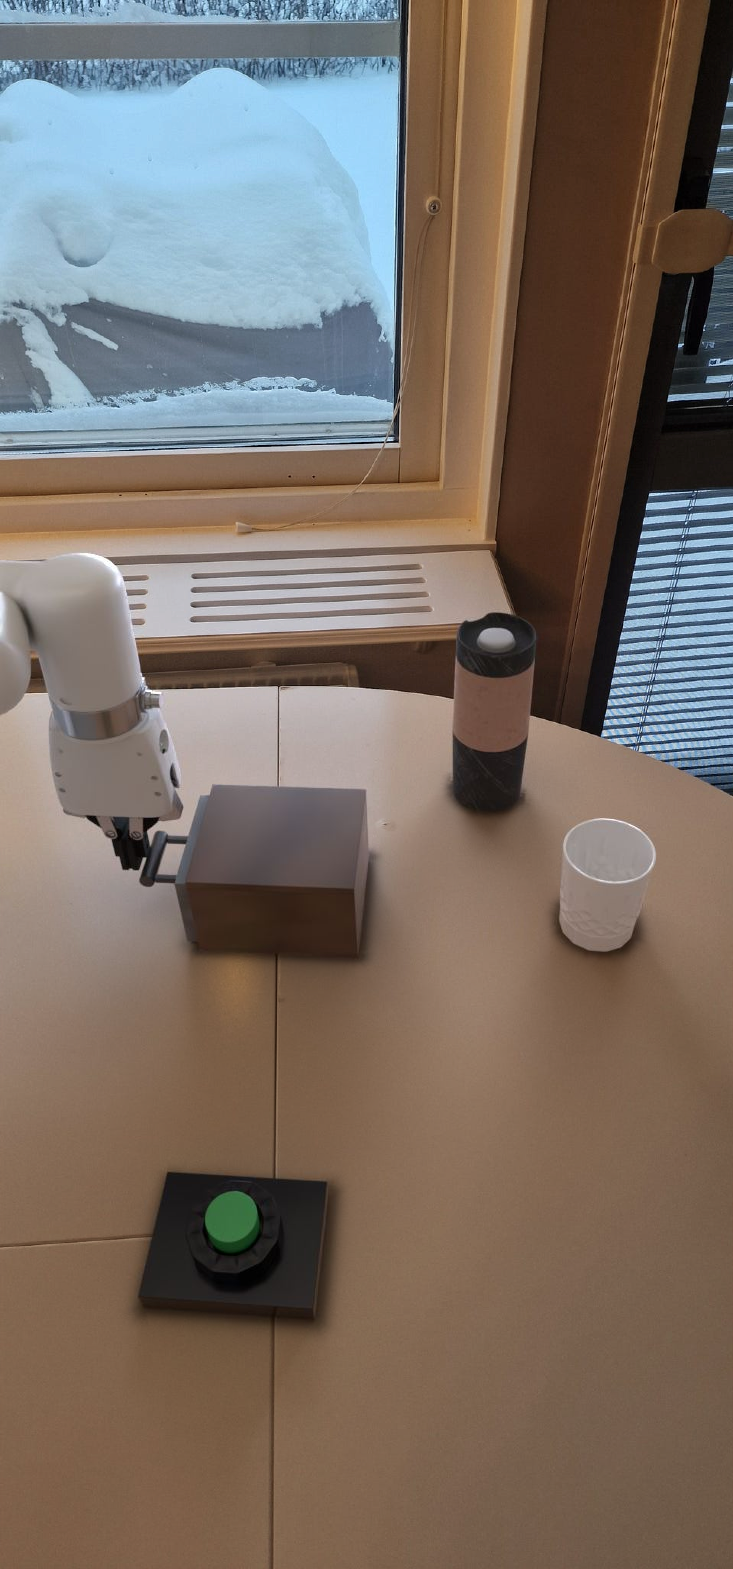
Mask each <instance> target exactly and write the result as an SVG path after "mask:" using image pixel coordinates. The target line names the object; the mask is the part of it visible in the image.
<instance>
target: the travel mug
mask: <svg viewBox="0 0 733 1569" xmlns="http://www.w3.org/2000/svg"><path fill="white" fill-rule="evenodd" d="M455 641H456V642H455V643H456V644H455V661H454V662H455V664H454V665H455V666H454V685H453V706H452V707H453V708H452V732H451V734H452V735H451V736H452V737H451V738H452V791H453V794H454V797H455V798H456V800H457V802H459V803H460V804H461V805H463V806H465V807H466V808H468V809H471V810H473V811H477V812H483V813H493V812H501V811H503V810H505V809H508V808H510V807H511V806H513V805H514V804H515V803H516V802H517V801H518V799H519V797H520V794H521V789H522V782H523V775H524V769H525V768H524V767H525V761H526V753H527V746H528V738H529V731H530V721H531V706H532V696H533V684H534V673H535V672H534V671H535V660H536V659H535V658H536V650H537V649H536V648H537V633H536V630H535V628H534V626H533V625H532V624H531V623H530V622H529V621H527V619H524V618H522V617H520V616H518V615H515V614H511V613H507V612H495V611H494V612H488V613H485V615H484V616H483V617H481V618H479V619H475V620H471V621H470V620H467V619H465V620H463V621H462V622H461V624H460V625H459V627H458V629H457V631H456V640H455Z"/></svg>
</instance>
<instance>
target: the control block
mask: <svg viewBox="0 0 733 1569" xmlns="http://www.w3.org/2000/svg"><path fill="white" fill-rule="evenodd" d="M232 1191H236V1192H241V1193H244V1194H246V1195H248V1196H249V1197H250V1198H251V1199H252V1200H253V1201H254V1203H255V1205H256V1208H257V1212H258V1217H259V1222H260V1229H259V1233H258V1236H257V1238H256V1239H255V1241H254V1242H253V1243H252V1245H251V1246H249V1247H248V1248H247V1249H245V1250H243V1251H241V1252H238V1253H225V1252H222V1251H220V1250H218V1249H217V1248H215V1247H214V1245H213V1244H212V1243H211V1241H210V1239H209V1235H208V1232H207V1228H206V1225H205V1215H206V1211H207V1209H208V1207H209V1205H210V1204H211V1202H212V1201H213V1200H214V1199H215V1198H217V1197H218V1196H220V1195H222V1194H224V1193H227V1192H232ZM329 1193H330V1192H329V1185H328V1181H324V1180H308V1179H293V1178H291V1179H290V1178H276V1177H275V1178H273V1177H259V1176H258V1177H257V1176H242V1175H227V1174H214V1173H213V1174H212V1173H211V1174H209V1173H197V1172H196V1173H194V1172H180V1171H179V1172H178V1171H166V1176H165V1179H164V1185H163V1188H162V1193H161V1197H160V1201H159V1206H158V1210H157V1215H156V1218H155V1223H154V1226H153V1232H152V1235H151V1239H150V1244H149V1248H148V1252H147V1257H146V1261H145V1266H144V1270H143V1273H142V1278H141V1283H140V1286H139V1291H138V1299H139V1302H140V1304H141V1307H142V1308H144V1309H156V1310H157V1309H158V1310H168V1311H169V1310H171V1311H183V1312H184V1311H185V1312H198V1313H212V1314H226V1315H240V1316H253V1317H254V1316H255V1317H267V1318H279V1319H295V1320H309V1321H315V1320H316V1312H317V1305H318V1304H317V1303H318V1295H319V1284H320V1277H321V1267H322V1258H323V1248H324V1240H325V1230H326V1221H327V1213H328V1206H329V1204H328V1203H329V1195H330V1194H329Z"/></svg>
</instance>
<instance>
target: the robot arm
mask: <svg viewBox="0 0 733 1569" xmlns="http://www.w3.org/2000/svg"><path fill="white" fill-rule="evenodd" d="M126 588H127V587H126V585H125V580H124V577H123V575H122V573H121V571H120V570H119V568H118V567H117V566H116V565H115V564H114V563H113V562H112V561H111V560H110V559H107V558H106V557H103V556H100V555H97V554H93V553H87V552H71V553H64V554H60V555H59V554H58V555H55V556H51V557H49V558H47V559H45V560H41V561H39V560H5V559H4V560H3V559H0V717H1V716H3V715H5V714H7V713H9V712H10V711H11V710H13V709H14V708H16V706H18V705H19V703H20V702H21V701H22V700H23V698H24V696H25V694H26V693H27V691H28V688H29V686H30V683H31V682H30V681H31V678H32V677H31V676H32V659H31V658H32V657H31V656H32V655H31V651H33V652H34V653H35V654H36V655H37V658H38V662H39V666H40V669H41V673H42V677H43V680H44V685H45V689H46V692H47V695H48V700H49V704H50V707H51V712H50V716H49V719H48V746H49V760H50V768H51V774H52V779H53V784H54V789H55V793H56V796H57V799H58V802H59V804H60V806H61V807H62V812H63V813H64V814H65V815H67V816H71V817H75V818H81V819H87V820H88V821H89V822H91V823H93V824H94V825H95V826H97V827H98V828H100V829H101V831H102V833H103V835H104V836H105V837H106V838H107V839H110V840H111V844H112V847H113V852H114V856H115V857H119V862H120V866H121V869H122V871H130V870H132V871H136V872H137V871H140V869H141V867H142V862H143V861H144V860H143V859H146V858H147V856H148V853H149V850H150V845H151V843H150V839H149V834H148V833H149V832H148V831H149V830H150V829H151V828H153V827H154V826H156V824H158V822H168V821H176V820H180V819H181V817H182V814H183V810H184V804H183V802H182V800H181V798H180V796H179V795H178V792H177V789H180V788H181V781H182V775H181V769H180V765H179V761H178V756H177V753H176V749H175V746H174V743H173V739H172V737H171V734H170V731H169V729H168V725H167V723H166V721H165V718H164V716H163V713H162V712H161V710H160V709H162V708H163V705H164V694H163V692H161V691H154V690H153V689H150V688H149V687H148V686H147V682H146V677H143V674H142V669H141V664H140V658H139V653H138V647H137V643H136V637H135V632H134V631H135V630H134V626H133V621H132V616H131V611H130V610H131V609H130V605H129V598H128V594H127V590H126Z"/></svg>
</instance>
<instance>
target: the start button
mask: <svg viewBox="0 0 733 1569" xmlns="http://www.w3.org/2000/svg"><path fill="white" fill-rule="evenodd" d="M205 1225H206V1228H207V1232H208V1235H209V1239H210V1241H211V1243H212V1244H213V1245H214V1247H215V1248H217V1249H218V1250H220V1251H222V1252H225V1253H238V1252H241V1251H243V1250H245V1249H247V1248H248V1247H249V1246H251V1245H252V1243H253V1242H254V1241H255V1239H256V1238H257V1236H258V1233H259V1229H260V1222H259V1217H258V1212H257V1208H256V1205H255V1203H254V1201H253V1200H252V1199H251V1198H250V1197H249V1196H248V1195H246V1194H244V1193H241V1192H236V1191H232V1192H227V1193H224V1194H222V1195H220V1196H218V1197H217V1198H215V1199H214V1200H213V1201H212V1202H211V1204H210V1205H209V1207H208V1209H207V1211H206V1215H205Z"/></svg>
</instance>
